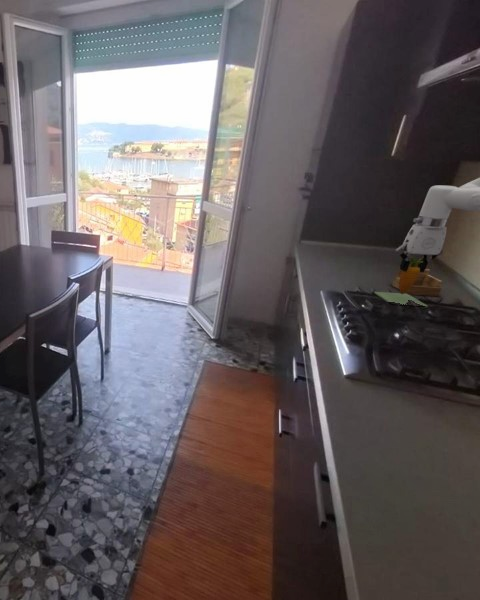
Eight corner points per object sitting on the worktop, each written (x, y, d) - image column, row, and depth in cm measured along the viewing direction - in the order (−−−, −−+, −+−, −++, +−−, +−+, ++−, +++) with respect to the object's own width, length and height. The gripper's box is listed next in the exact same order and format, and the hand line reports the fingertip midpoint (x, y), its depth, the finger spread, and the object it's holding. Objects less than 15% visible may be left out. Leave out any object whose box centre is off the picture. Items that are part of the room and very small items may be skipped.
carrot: (407, 292, 138) (422, 255, 132) (412, 297, 134) (428, 259, 128) (391, 290, 140) (406, 254, 134) (395, 295, 136) (410, 257, 130)
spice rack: (438, 296, 141) (446, 277, 138) (406, 294, 143) (414, 275, 140) (421, 287, 150) (428, 269, 147) (391, 285, 152) (398, 267, 149)
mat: (427, 307, 132) (428, 306, 131) (391, 305, 134) (391, 303, 133) (407, 295, 142) (407, 293, 142) (373, 292, 144) (374, 291, 144)
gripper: (410, 223, 124) (391, 272, 131) (467, 225, 121) (444, 275, 128) (397, 219, 131) (380, 266, 138) (450, 221, 128) (430, 268, 135)
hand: (411, 270), depth 133 cm, fingers closed on carrot, 4 cm apart
